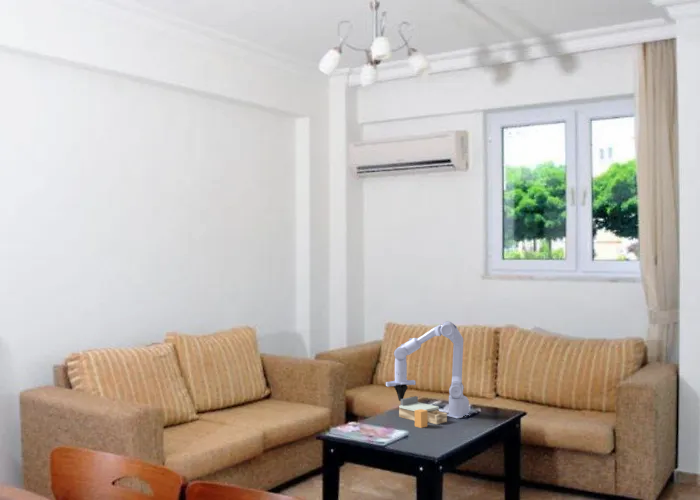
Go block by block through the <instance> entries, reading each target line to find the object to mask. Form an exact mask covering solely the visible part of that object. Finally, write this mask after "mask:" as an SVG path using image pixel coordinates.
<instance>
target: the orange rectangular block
mask: <svg viewBox="0 0 700 500" xmlns="http://www.w3.org/2000/svg"><path fill="white" fill-rule="evenodd" d="M414 427H415V428H421V429H423V428H427V427H428V422H427V410H423V409H419V410H415V421H414Z"/></svg>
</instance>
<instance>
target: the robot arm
mask: <svg viewBox="0 0 700 500" xmlns="http://www.w3.org/2000/svg"><path fill="white" fill-rule="evenodd" d="M441 336H443V337H445V338H446V339H449V341H451V342H452V344H453V349H452V350H453V352H452V372H451V373H452V376H451V384H450V386H449V391H448V392H449V395H448V413H447V417H449V418H450V417H451V418H455V419H460V418H464V417H463V415H464V414H468V413H469V414H470V401H469V398H468V397H467V396H466V395H464V389H465V388H464V384H463V359H464V358H463V357H464V337H463V336H462V334H461V332H460V330H459V329H458V326H457V325H456V324H454V323H453V322H452V321H449V320H448V321H445V322H443V323H442V324H441V323H440V324H438V325H436V326H434V327H432V328H431V329H429V330H428V331H427V332H425V333H424V334H422V335H421V336H419V337H413V338H412V337H410V338H408V341H406V342H405V343H402V344H400V346H398V347H396V348H395V350H394V352H393V355H394V380H391V381H385V386H386V387H387V388H390V387H394V390H395V392H396V394H397V399H398V401H399V402H401V399H404V398H405V394H406V392H407V390H408V387H409V386H415V385H416V380H414V379H412V380H411V379H407V378H408V377H407V376H408V373H407V371H408V370H407V369H408V368H407V366H408V364H407V363H408V362H407V356H409V355H411V354H413V353H415V352H416V351H418V350H419V349H421V347H422V344H424V343H426V342H427V341H429V340H430V339H433V338H434V337H441Z"/></svg>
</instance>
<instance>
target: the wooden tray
mask: <svg viewBox="0 0 700 500" xmlns="http://www.w3.org/2000/svg"><path fill="white" fill-rule="evenodd" d="M398 409H399V410H398V417H399V418H403V419H406V420H409V421H414V422H415V411H411V410H407V409H403V408H398ZM447 414H448V413H447V412H444V411H440V408H439V409H436V410H432V411H427V423H430V424H434V425H440V424H443V423H448V416H447Z"/></svg>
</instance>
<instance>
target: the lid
mask: <svg viewBox="0 0 700 500" xmlns="http://www.w3.org/2000/svg"><path fill="white" fill-rule="evenodd" d="M398 407H399V408H403V409H407V410H411V411H415V410H419V409H423V410H427V411H432V410H436V409H439V410H440V406H438V405H433V404H428V403H423V402H419V397H418V396H416V395H415V396H410V397H404V398H403V399H401V401H400V405H398ZM399 408H398V409H399Z"/></svg>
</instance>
